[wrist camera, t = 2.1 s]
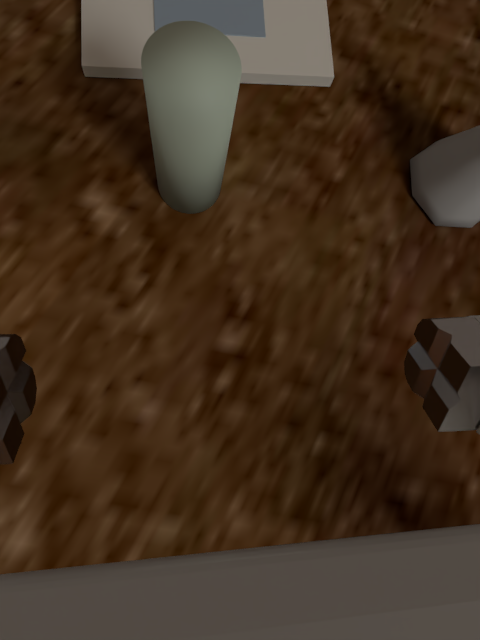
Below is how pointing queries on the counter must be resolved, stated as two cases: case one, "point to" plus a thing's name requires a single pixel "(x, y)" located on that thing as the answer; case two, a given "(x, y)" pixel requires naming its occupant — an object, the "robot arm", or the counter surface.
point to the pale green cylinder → (190, 110)
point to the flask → (449, 179)
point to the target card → (226, 16)
